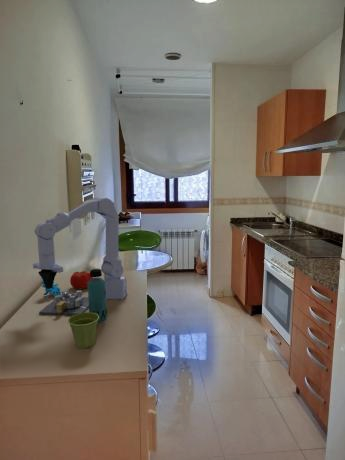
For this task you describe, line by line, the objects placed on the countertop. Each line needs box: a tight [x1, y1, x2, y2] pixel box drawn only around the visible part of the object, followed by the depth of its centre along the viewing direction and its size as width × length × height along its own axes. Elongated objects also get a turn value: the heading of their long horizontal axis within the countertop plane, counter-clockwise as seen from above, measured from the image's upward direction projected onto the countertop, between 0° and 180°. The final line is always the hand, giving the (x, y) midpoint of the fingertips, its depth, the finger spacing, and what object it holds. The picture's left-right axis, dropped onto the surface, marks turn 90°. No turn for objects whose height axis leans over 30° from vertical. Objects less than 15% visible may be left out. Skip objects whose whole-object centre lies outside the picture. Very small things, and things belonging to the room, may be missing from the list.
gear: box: [41, 281, 62, 297], centre depth 150 cm, size 11×6×10 cm
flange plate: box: [38, 296, 89, 317], centre depth 136 cm, size 17×17×1 cm
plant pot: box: [67, 311, 99, 349], centre depth 104 cm, size 9×9×9 cm
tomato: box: [69, 270, 94, 290], centre depth 160 cm, size 11×11×8 cm
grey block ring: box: [53, 289, 84, 313], centre depth 134 cm, size 11×14×4 cm
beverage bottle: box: [87, 268, 108, 324], centre depth 118 cm, size 6×7×20 cm
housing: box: [61, 292, 76, 301], centre depth 136 cm, size 6×6×5 cm
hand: (49, 288), depth 129 cm, fingers closed
